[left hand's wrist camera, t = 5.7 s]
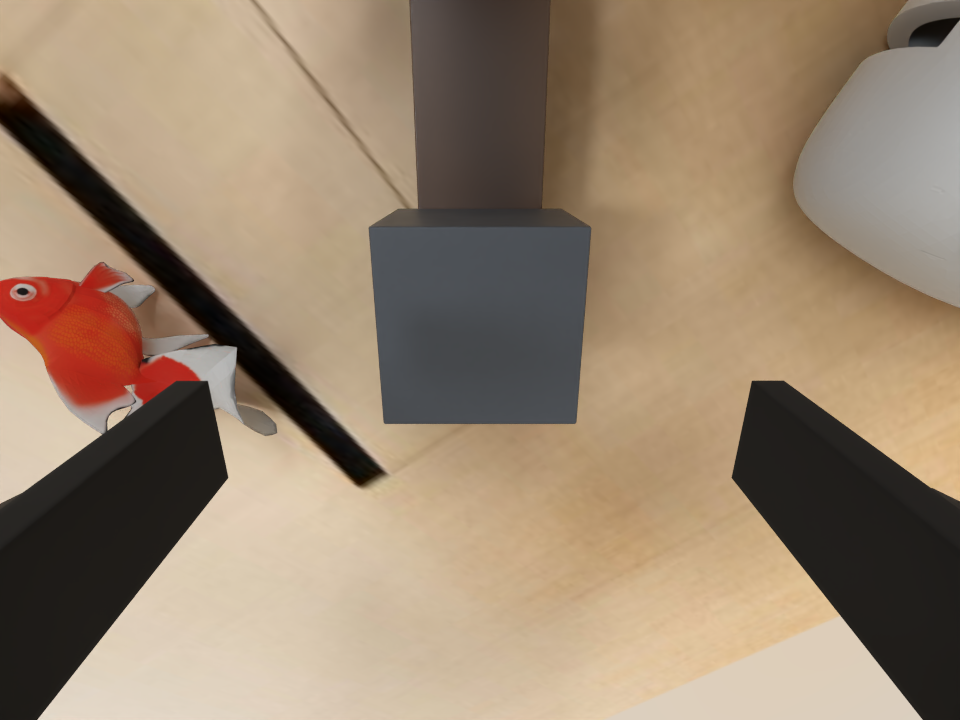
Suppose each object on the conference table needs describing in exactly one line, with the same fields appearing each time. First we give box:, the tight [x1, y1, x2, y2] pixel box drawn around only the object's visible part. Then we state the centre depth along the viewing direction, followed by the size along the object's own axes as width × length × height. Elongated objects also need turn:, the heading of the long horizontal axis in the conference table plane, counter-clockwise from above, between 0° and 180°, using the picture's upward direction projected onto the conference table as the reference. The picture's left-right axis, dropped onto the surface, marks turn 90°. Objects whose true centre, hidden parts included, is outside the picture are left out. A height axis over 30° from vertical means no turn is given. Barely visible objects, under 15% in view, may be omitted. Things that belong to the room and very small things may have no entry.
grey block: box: [369, 209, 591, 424], centre depth 23 cm, size 8×8×7 cm
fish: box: [0, 262, 277, 436], centre depth 30 cm, size 11×16×10 cm
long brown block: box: [409, 0, 551, 209], centre depth 26 cm, size 6×28×6 cm, turn 0°
